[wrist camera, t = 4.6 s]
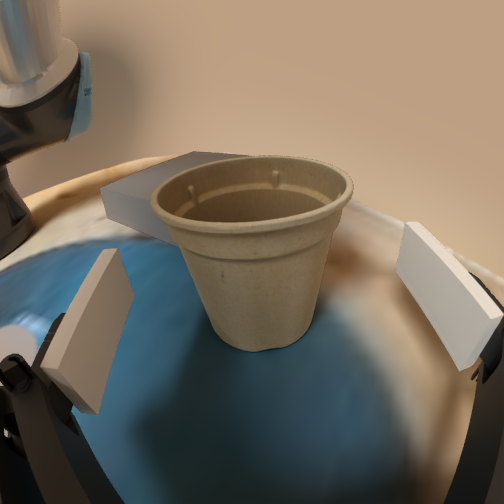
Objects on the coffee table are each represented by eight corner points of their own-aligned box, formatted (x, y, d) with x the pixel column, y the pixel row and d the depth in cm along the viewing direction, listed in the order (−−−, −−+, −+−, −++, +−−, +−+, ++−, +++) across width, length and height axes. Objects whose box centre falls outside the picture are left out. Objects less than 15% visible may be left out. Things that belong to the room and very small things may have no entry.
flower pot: (160, 360, 15) (107, 221, 11) (213, 266, 23) (196, 156, 18) (333, 387, 13) (365, 232, 8) (336, 275, 21) (346, 157, 16)
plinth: (107, 218, 33) (99, 188, 31) (196, 176, 44) (193, 151, 42) (193, 252, 25) (184, 209, 23) (288, 191, 35) (287, 160, 33)
